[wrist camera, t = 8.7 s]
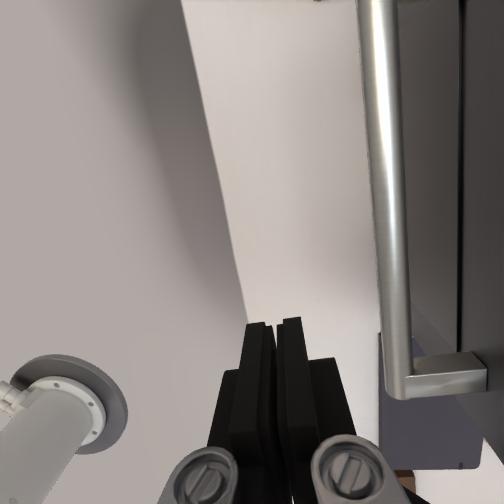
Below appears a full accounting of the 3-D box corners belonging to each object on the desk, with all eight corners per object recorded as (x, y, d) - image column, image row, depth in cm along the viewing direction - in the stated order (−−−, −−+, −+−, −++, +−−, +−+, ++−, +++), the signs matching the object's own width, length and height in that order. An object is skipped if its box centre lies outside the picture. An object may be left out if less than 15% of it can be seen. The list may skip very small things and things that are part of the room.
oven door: (343, 316, 39) (405, 475, 20) (308, 12, 29) (362, -227, 10) (407, 308, 38) (535, 467, 19) (393, -10, 28) (620, -317, 9)
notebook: (378, 333, 39) (378, 460, 46) (382, 340, 38) (382, 470, 44) (489, 326, 38) (472, 458, 44) (497, 333, 36) (479, 469, 43)
